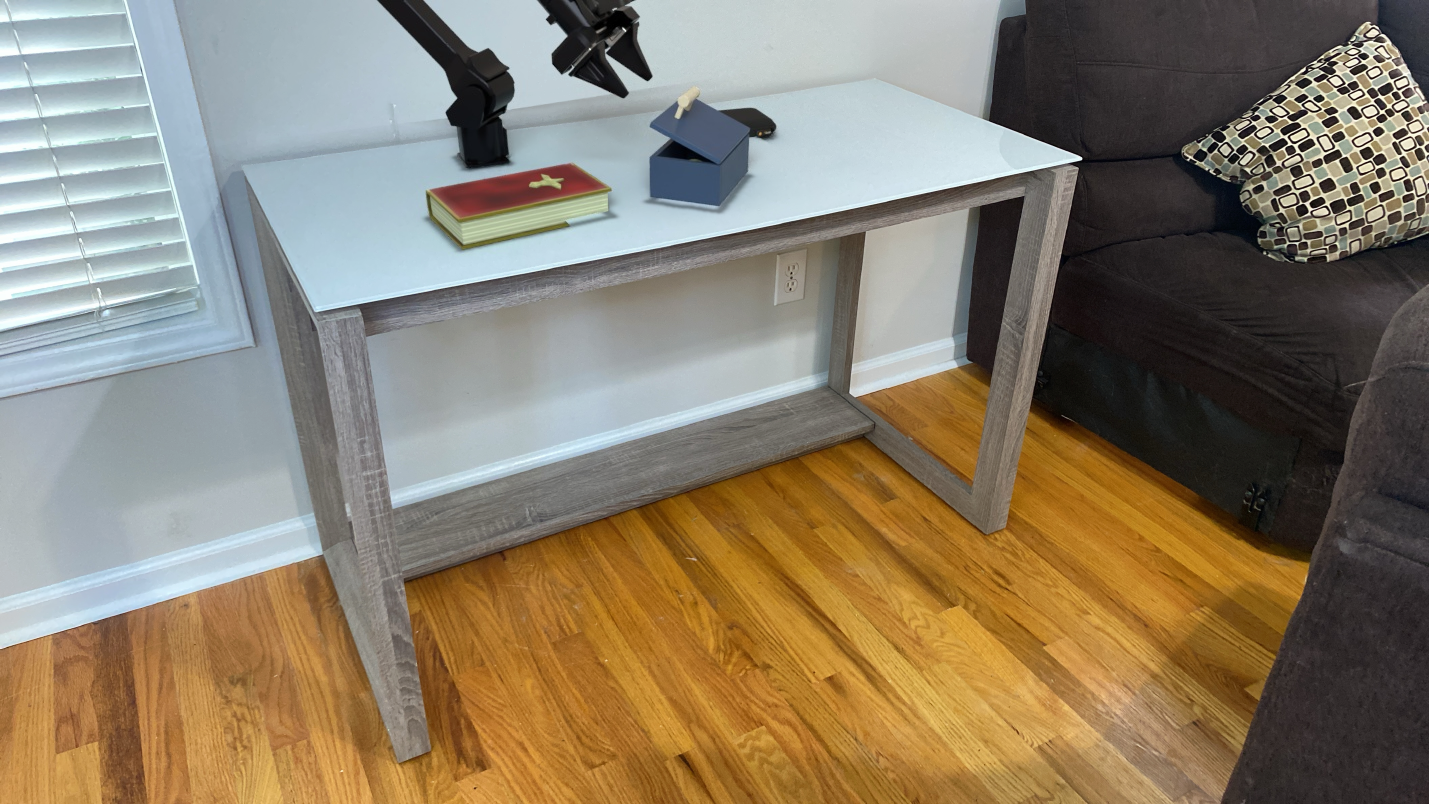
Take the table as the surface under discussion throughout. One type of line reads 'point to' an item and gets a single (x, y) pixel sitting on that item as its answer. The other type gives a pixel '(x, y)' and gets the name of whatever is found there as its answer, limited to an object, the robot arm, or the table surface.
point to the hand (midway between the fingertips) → (638, 87)
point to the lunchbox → (696, 173)
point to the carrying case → (752, 121)
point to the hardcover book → (515, 204)
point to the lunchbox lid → (700, 127)
